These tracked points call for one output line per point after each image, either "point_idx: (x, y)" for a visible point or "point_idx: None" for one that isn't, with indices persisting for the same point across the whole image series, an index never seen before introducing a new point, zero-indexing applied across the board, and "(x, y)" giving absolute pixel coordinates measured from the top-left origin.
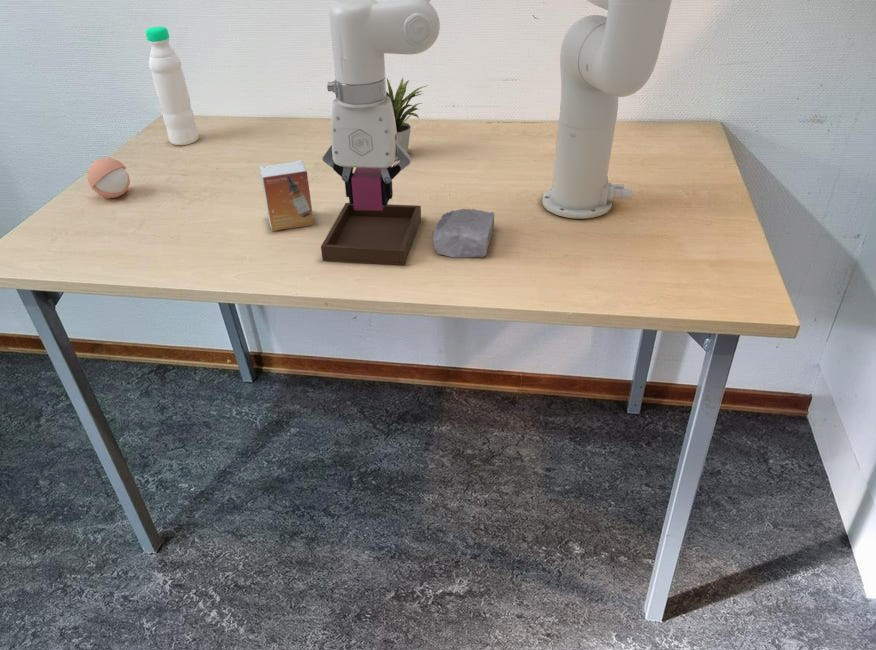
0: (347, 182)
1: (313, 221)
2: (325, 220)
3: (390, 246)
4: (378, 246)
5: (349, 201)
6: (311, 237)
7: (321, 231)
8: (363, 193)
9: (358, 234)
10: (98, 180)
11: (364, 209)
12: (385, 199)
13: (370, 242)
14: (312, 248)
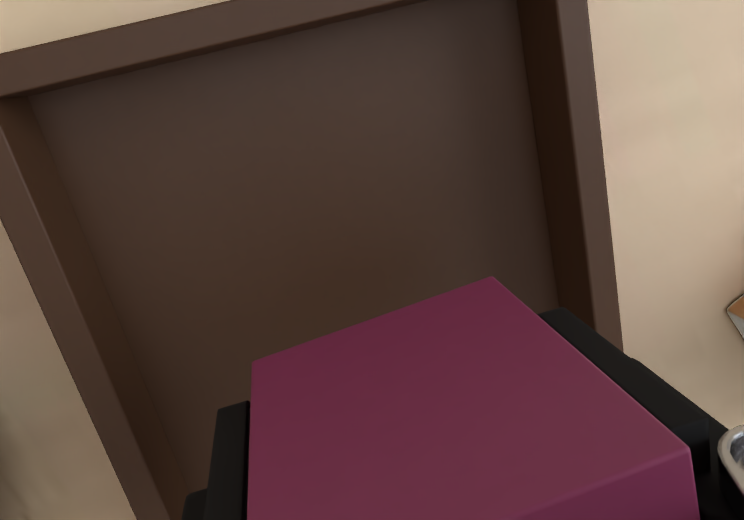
0: (707, 418)
1: (738, 318)
2: (682, 374)
3: (191, 233)
4: (263, 205)
5: (570, 314)
6: (690, 188)
7: (662, 266)
8: (450, 385)
9: (447, 290)
10: None
11: (407, 309)
12: (215, 441)
13: (336, 232)
14: (642, 75)
